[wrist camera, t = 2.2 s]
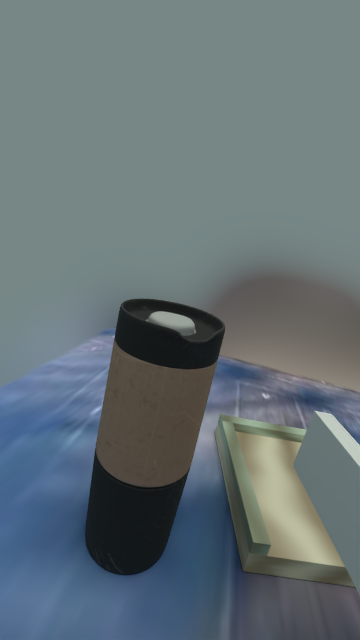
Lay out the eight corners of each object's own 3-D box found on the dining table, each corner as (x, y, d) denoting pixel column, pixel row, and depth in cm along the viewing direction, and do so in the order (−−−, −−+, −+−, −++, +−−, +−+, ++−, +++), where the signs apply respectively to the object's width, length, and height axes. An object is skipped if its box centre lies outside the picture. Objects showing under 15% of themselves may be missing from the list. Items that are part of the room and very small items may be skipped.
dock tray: (335, 454, 44) (342, 436, 43) (441, 598, 26) (457, 572, 25) (214, 434, 42) (220, 414, 41) (242, 571, 25) (253, 542, 24)
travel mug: (112, 482, 31) (147, 293, 26) (181, 516, 29) (235, 318, 24) (61, 549, 24) (95, 306, 18) (148, 600, 22) (214, 343, 16)
